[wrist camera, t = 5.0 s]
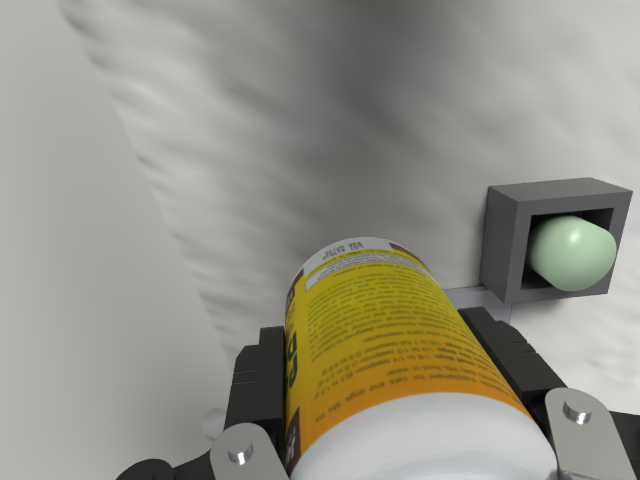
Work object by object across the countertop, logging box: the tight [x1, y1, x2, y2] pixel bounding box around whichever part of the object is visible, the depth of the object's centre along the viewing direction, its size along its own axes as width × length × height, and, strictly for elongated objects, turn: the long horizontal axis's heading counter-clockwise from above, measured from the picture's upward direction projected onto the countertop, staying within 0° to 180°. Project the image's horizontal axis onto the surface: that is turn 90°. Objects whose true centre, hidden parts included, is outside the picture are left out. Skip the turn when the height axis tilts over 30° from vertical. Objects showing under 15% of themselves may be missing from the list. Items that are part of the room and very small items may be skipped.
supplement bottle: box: [285, 237, 558, 480], centre depth 10 cm, size 6×6×10 cm
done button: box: [525, 214, 616, 291], centre depth 20 cm, size 4×4×2 cm
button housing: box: [480, 177, 633, 305], centre depth 22 cm, size 6×6×3 cm
